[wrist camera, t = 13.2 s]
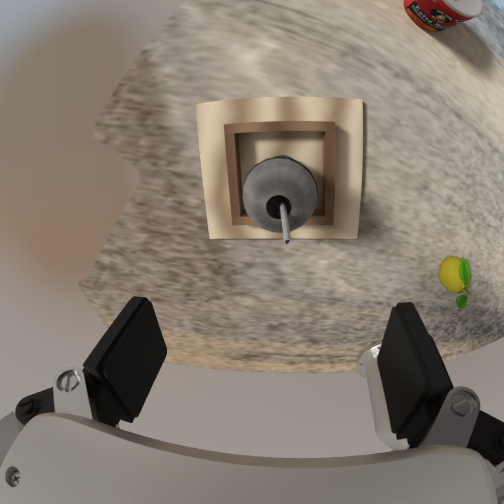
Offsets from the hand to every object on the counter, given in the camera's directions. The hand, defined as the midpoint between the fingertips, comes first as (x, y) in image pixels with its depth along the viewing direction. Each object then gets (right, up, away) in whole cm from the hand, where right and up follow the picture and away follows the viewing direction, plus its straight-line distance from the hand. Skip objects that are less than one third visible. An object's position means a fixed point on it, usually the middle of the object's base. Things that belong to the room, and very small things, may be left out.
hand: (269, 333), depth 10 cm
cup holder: (+3, +14, +27) cm, 31 cm away
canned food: (+25, +38, +12) cm, 47 cm away
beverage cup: (+3, +14, +26) cm, 30 cm away
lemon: (+33, +1, +30) cm, 45 cm away
